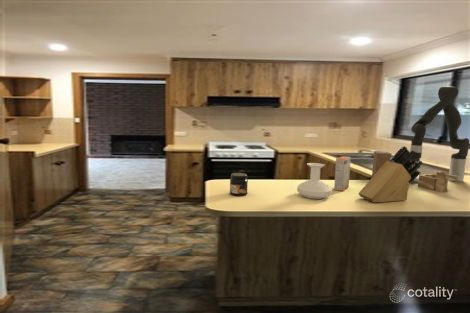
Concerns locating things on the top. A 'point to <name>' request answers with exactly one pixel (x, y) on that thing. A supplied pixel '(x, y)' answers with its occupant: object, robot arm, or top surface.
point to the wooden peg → (451, 176)
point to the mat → (414, 182)
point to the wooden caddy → (434, 181)
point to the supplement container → (238, 184)
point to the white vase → (314, 184)
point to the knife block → (392, 179)
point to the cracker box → (342, 173)
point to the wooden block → (380, 160)
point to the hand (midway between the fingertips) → (413, 174)
